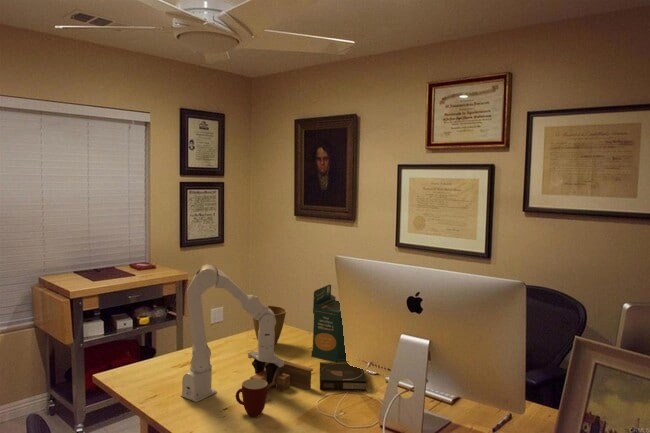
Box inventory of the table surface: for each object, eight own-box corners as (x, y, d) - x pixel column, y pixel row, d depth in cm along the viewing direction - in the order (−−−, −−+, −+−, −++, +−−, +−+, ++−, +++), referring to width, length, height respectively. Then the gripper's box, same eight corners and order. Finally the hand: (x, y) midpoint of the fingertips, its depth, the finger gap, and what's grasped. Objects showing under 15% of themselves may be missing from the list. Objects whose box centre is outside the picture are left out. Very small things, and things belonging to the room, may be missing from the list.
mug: (229, 417, 152) (230, 386, 151) (239, 405, 160) (240, 376, 159) (262, 422, 150) (263, 390, 149) (270, 410, 158) (271, 380, 157)
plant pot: (278, 353, 207) (279, 316, 206) (245, 348, 211) (246, 312, 210) (289, 341, 222) (290, 307, 221) (258, 337, 225) (259, 303, 224)
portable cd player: (319, 391, 173) (320, 380, 173) (319, 372, 190) (319, 362, 190) (366, 393, 174) (366, 382, 173) (361, 373, 191) (362, 363, 190)
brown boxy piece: (258, 393, 166) (258, 376, 165) (250, 391, 168) (250, 374, 167) (279, 381, 176) (279, 365, 175) (271, 379, 178) (272, 363, 177)
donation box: (328, 345, 219) (330, 283, 217) (361, 352, 212) (364, 288, 210) (311, 356, 205) (313, 290, 202) (346, 364, 198) (349, 296, 195)
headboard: (299, 396, 168) (299, 376, 167) (243, 378, 181) (243, 359, 180) (312, 388, 175) (313, 368, 174) (257, 371, 188) (258, 352, 187)
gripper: (289, 345, 170) (288, 383, 171) (257, 336, 177) (256, 373, 179) (277, 351, 164) (276, 390, 165) (244, 342, 172) (243, 379, 173)
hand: (265, 381), depth 172 cm, fingers closed on brown boxy piece, 3 cm apart
